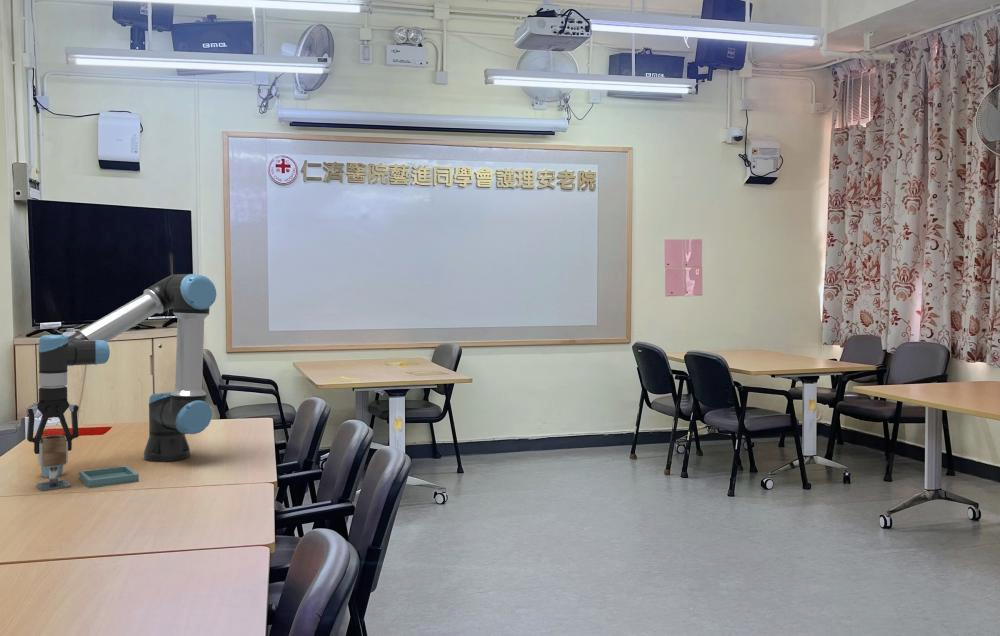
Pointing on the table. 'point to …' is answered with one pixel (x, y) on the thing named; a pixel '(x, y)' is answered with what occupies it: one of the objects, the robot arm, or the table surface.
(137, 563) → the table surface
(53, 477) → the knob mounting plate
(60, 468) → the cup
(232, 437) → the table surface
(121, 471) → the tray
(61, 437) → the bored block
